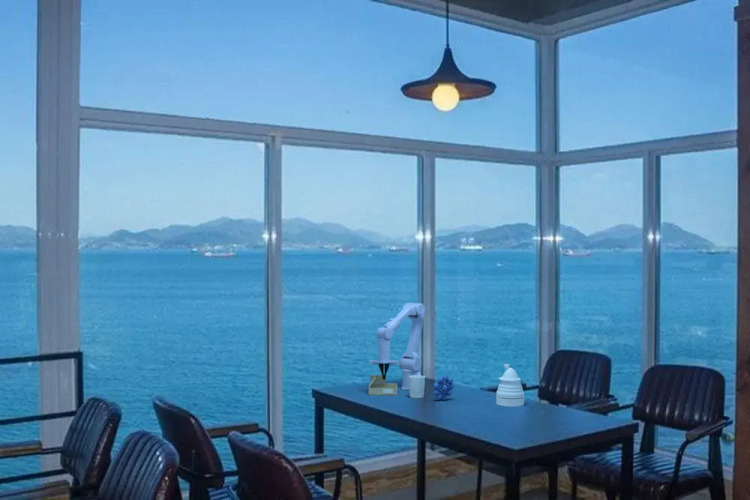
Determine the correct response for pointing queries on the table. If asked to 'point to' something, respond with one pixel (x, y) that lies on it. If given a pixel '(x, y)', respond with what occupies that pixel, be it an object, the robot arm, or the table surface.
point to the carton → (383, 389)
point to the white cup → (416, 386)
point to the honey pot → (510, 389)
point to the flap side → (377, 379)
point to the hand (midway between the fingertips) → (383, 379)
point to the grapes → (443, 387)
